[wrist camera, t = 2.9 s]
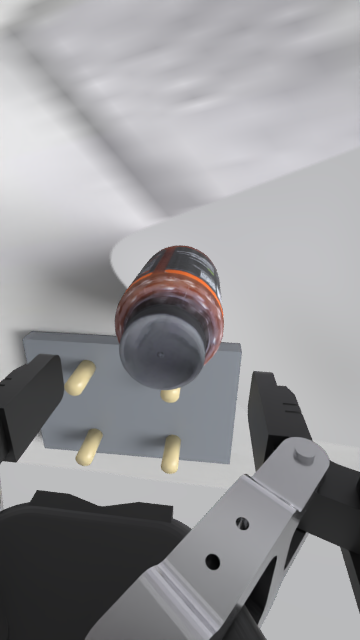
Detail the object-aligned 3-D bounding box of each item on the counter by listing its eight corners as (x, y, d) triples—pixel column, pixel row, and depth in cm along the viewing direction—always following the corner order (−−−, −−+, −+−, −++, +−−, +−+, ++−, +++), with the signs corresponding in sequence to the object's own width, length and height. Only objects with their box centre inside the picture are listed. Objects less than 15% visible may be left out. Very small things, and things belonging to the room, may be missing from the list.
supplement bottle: (136, 306, 26) (86, 390, 15) (152, 234, 23) (104, 275, 13) (207, 325, 26) (205, 421, 15) (230, 255, 23) (245, 313, 13)
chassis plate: (31, 331, 27) (0, 357, 23) (240, 343, 26) (245, 373, 22) (51, 436, 32) (28, 473, 28) (228, 451, 31) (231, 492, 27)
